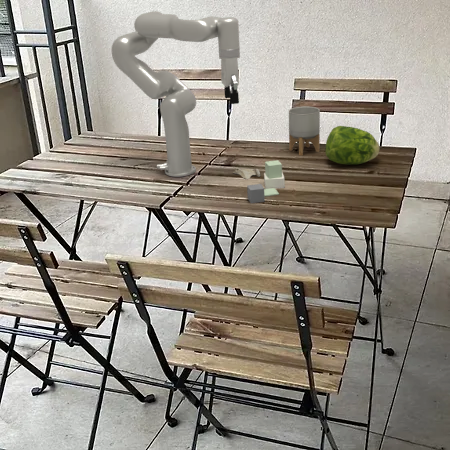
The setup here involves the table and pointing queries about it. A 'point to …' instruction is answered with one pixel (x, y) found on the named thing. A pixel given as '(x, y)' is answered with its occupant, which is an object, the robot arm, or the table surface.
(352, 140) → the green rounded lump
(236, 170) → the fossil
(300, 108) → the planter
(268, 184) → the base block
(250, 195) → the gray cube
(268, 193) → the swatch
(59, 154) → the table surface
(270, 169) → the sage cube
